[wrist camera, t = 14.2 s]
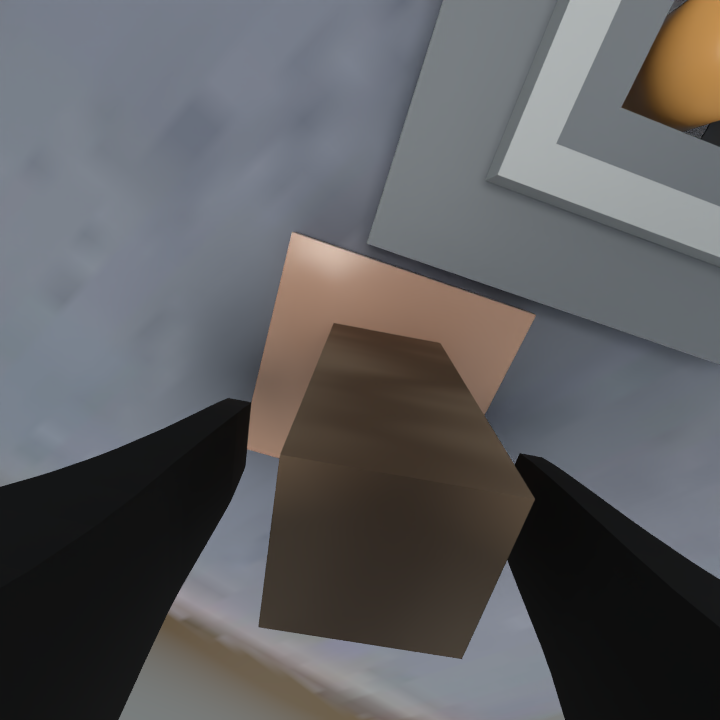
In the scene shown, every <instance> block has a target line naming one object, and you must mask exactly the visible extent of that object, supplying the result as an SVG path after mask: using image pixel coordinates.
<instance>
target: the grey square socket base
mask: <svg viewBox="0 0 720 720" xmlns="http://www.w3.org/2000/svg"><path fill="white" fill-rule="evenodd" d="M673 2H674V0H443V2H442V5H441V9H440V12H439V15H438V18H437V21H436V25H435V28H434V31H433V34H432V37H431V40H430V44H429V47H428V50H427V53H426V56H425V60H424V63H423V66H422V69H421V72H420V76H419V79H418V82H417V85H416V88H415V91H414V95H413V98H412V101H411V104H410V107H409V111H408V114H407V117H406V120H405V123H404V126H403V130H402V133H401V136H400V139H399V142H398V146H397V149H396V152H395V155H394V158H393V161H392V165H391V168H390V171H389V174H388V177H387V181H386V184H385V187H384V190H383V193H382V196H381V200H380V203H379V206H378V209H377V212H376V216H375V219H374V222H373V225H372V228H371V231H370V235H369V238H368V241H367V244H369V245H372V246H375V247H378V248H381V249H384V250H387V251H390V252H393V253H395V254H398V255H401V256H404V257H407V258H410V259H413V260H416V261H419V262H422V263H425V264H427V265H430V266H433V267H436V268H439V269H442V270H445V271H448V272H451V273H454V274H457V275H460V276H462V277H465V278H468V279H471V280H474V281H477V282H480V283H483V284H486V285H489V286H492V287H494V288H497V289H500V290H503V291H506V292H509V293H512V294H515V295H518V296H521V297H524V298H527V299H529V300H532V301H535V302H538V303H541V304H544V305H547V306H550V307H553V308H556V309H559V310H561V311H564V312H567V313H570V314H573V315H576V316H579V317H582V318H585V319H588V320H591V321H594V322H596V323H599V324H602V325H605V326H608V327H611V328H614V329H617V330H620V331H623V332H626V333H628V334H631V335H634V336H637V337H640V338H643V339H646V340H649V341H652V342H655V343H658V344H660V345H663V346H666V347H669V348H672V349H675V350H678V351H681V352H684V353H687V354H690V355H693V356H695V357H698V358H701V359H704V360H707V361H710V362H713V363H716V364H719V365H720V120H719V121H716V122H713V123H711V124H710V125H709V127H708V129H707V130H706V132H705V134H704V136H703V137H702V139H698V138H696V137H693V136H691V135H688V134H686V133H683V132H681V131H678V130H676V129H673V128H671V127H669V126H666V125H664V124H661V123H659V122H656V121H654V120H651V119H649V118H646V117H644V116H641V115H639V114H636V113H634V112H631V111H629V110H626V109H624V108H621V107H622V105H623V103H624V101H625V99H626V97H627V95H628V93H629V91H630V89H631V87H632V85H633V83H634V81H635V79H636V77H637V75H638V73H639V71H640V69H641V67H642V65H643V63H644V61H645V59H646V57H647V55H648V53H649V51H650V49H651V46H652V44H653V42H654V40H655V38H656V36H657V34H658V32H659V30H660V28H661V26H662V24H663V22H664V20H665V18H666V16H667V14H668V12H669V10H670V8H671V6H672V4H673Z"/></svg>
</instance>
